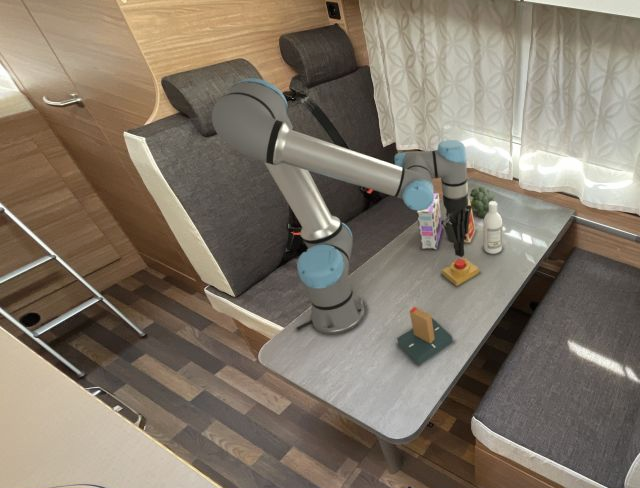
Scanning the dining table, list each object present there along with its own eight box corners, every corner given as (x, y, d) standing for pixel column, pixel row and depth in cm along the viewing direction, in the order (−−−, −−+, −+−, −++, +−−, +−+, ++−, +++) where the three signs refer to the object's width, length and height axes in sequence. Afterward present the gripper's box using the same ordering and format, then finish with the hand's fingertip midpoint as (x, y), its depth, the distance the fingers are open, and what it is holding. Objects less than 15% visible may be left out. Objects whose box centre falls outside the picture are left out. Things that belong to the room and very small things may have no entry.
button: (459, 270, 137) (459, 266, 135) (452, 265, 138) (452, 261, 137) (467, 266, 139) (467, 262, 137) (461, 261, 140) (460, 257, 139)
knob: (434, 339, 115) (431, 314, 108) (430, 343, 114) (426, 319, 107) (418, 330, 117) (414, 306, 110) (414, 334, 116) (409, 310, 109)
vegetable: (467, 196, 176) (497, 186, 170) (473, 224, 175) (503, 215, 169) (452, 191, 165) (484, 180, 159) (458, 221, 164) (490, 212, 158)
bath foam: (505, 249, 152) (507, 204, 139) (491, 256, 148) (491, 210, 135) (494, 240, 156) (494, 195, 143) (480, 247, 152) (479, 202, 139)
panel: (418, 366, 112) (417, 359, 109) (398, 344, 117) (396, 337, 115) (452, 342, 118) (451, 335, 116) (431, 323, 123) (430, 316, 121)
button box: (456, 286, 136) (456, 277, 133) (442, 274, 140) (441, 265, 138) (479, 273, 141) (478, 264, 139) (464, 262, 146) (464, 253, 143)
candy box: (437, 249, 151) (433, 212, 140) (421, 249, 151) (416, 211, 140) (442, 228, 161) (439, 192, 150) (428, 227, 161) (423, 191, 150)
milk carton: (469, 242, 154) (467, 197, 141) (446, 239, 156) (442, 194, 142) (475, 229, 161) (474, 185, 148) (453, 226, 162) (450, 181, 149)
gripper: (458, 181, 125) (462, 241, 141) (431, 199, 117) (438, 261, 132) (477, 187, 123) (479, 248, 138) (452, 207, 114) (457, 269, 130)
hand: (459, 254), depth 135 cm, fingers closed
